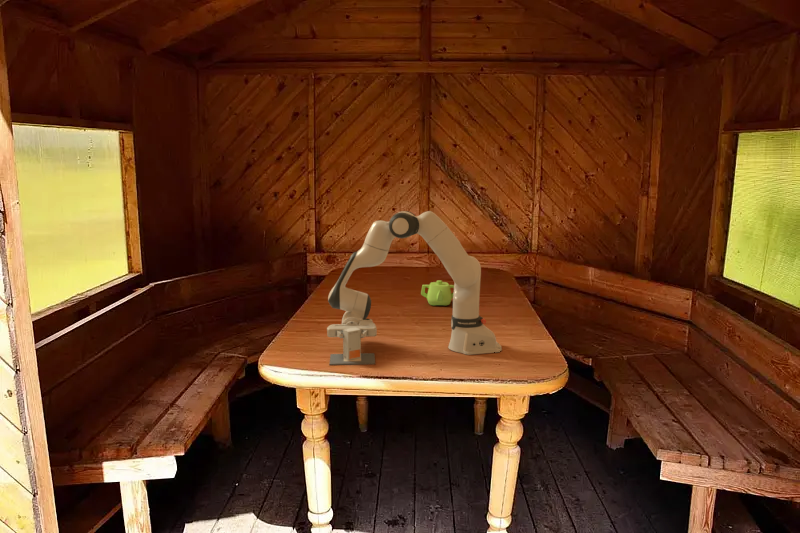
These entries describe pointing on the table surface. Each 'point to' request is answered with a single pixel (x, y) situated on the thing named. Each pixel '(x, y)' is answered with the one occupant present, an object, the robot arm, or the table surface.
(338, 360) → the rubber mat
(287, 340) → the table surface
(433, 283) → the teapot
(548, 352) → the table surface
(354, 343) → the skincare box
